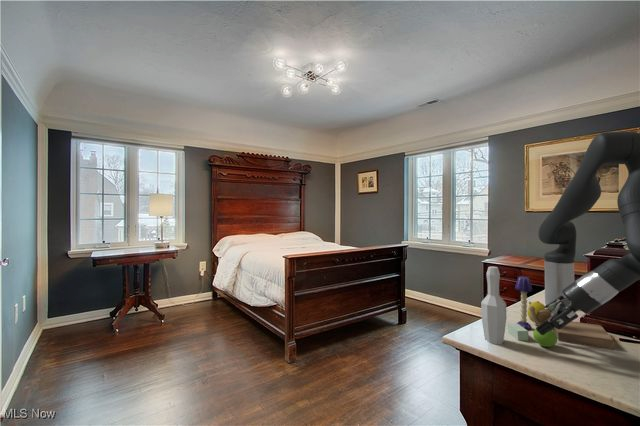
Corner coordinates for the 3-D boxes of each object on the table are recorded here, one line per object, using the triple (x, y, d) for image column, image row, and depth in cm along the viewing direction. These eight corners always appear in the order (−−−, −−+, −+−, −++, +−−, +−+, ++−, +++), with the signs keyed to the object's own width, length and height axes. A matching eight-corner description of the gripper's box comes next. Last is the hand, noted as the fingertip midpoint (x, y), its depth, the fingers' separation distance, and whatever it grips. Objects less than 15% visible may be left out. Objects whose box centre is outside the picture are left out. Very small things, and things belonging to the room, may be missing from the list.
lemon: (539, 329, 97) (539, 304, 97) (523, 323, 102) (523, 299, 102) (552, 327, 99) (552, 302, 98) (536, 321, 104) (535, 297, 104)
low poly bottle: (490, 334, 94) (488, 264, 94) (511, 342, 89) (510, 267, 88) (477, 339, 91) (476, 266, 91) (498, 347, 86) (497, 270, 85)
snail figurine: (530, 339, 90) (529, 299, 90) (557, 345, 86) (557, 303, 86) (528, 346, 86) (527, 304, 86) (557, 352, 82) (556, 308, 82)
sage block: (507, 332, 96) (507, 323, 96) (517, 332, 95) (517, 323, 95) (517, 340, 90) (517, 330, 90) (528, 341, 90) (528, 331, 89)
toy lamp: (536, 329, 97) (535, 278, 97) (525, 331, 95) (525, 279, 95) (522, 324, 101) (521, 274, 101) (511, 326, 100) (511, 276, 100)
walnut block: (552, 327, 99) (551, 318, 99) (600, 334, 93) (600, 325, 93) (558, 342, 89) (558, 332, 89) (613, 350, 83) (613, 340, 83)
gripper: (571, 275, 88) (524, 308, 94) (582, 287, 76) (527, 324, 82) (596, 296, 85) (545, 328, 91) (610, 311, 73) (552, 347, 79)
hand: (537, 326), depth 87 cm, fingers open, 8 cm apart
